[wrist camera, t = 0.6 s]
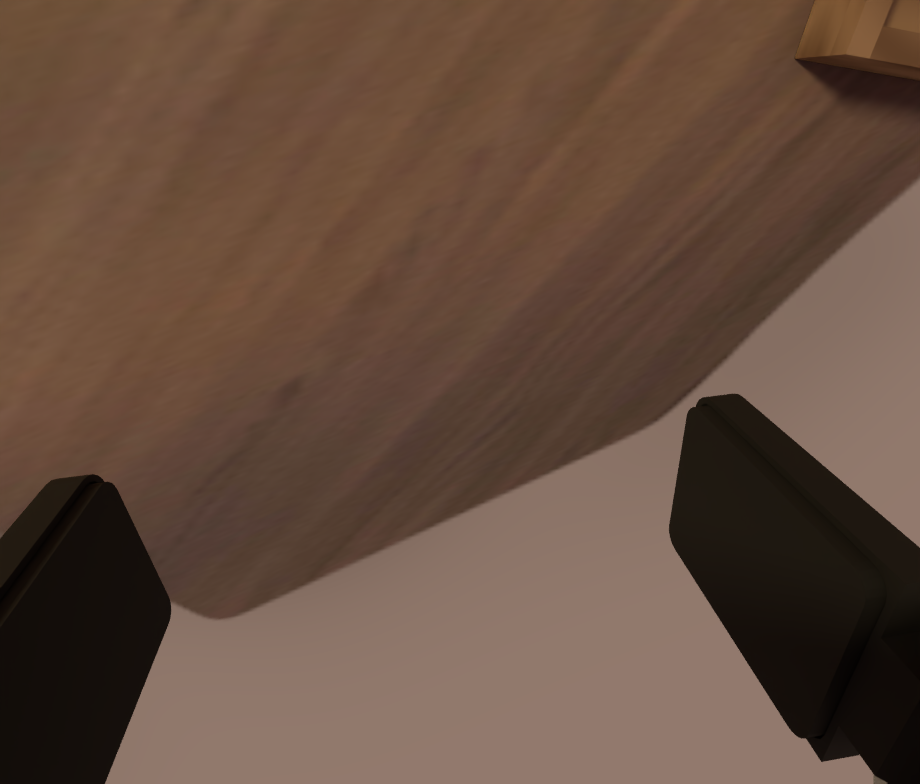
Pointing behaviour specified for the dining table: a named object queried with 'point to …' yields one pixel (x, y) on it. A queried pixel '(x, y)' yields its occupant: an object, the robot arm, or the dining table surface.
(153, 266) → the dining table surface
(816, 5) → the base
